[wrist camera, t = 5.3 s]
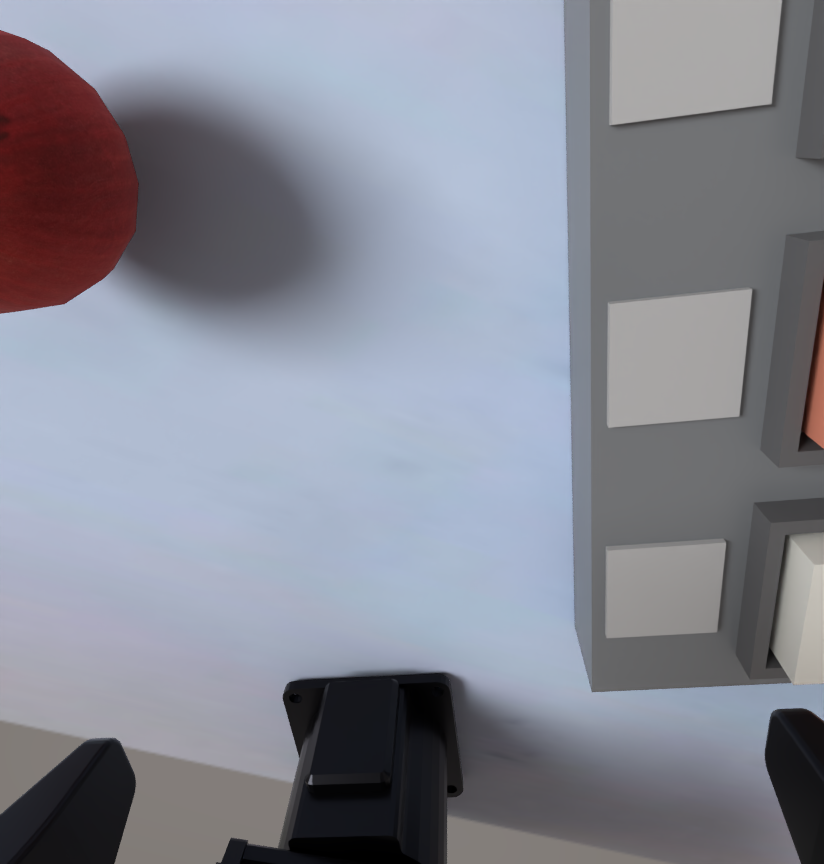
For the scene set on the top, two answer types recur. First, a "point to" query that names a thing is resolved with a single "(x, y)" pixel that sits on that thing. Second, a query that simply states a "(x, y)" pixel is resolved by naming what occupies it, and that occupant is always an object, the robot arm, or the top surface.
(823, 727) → the robot arm
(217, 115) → the top surface
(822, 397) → the button middle
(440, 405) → the top surface
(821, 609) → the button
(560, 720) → the top surface
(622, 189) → the button panel
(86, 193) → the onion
